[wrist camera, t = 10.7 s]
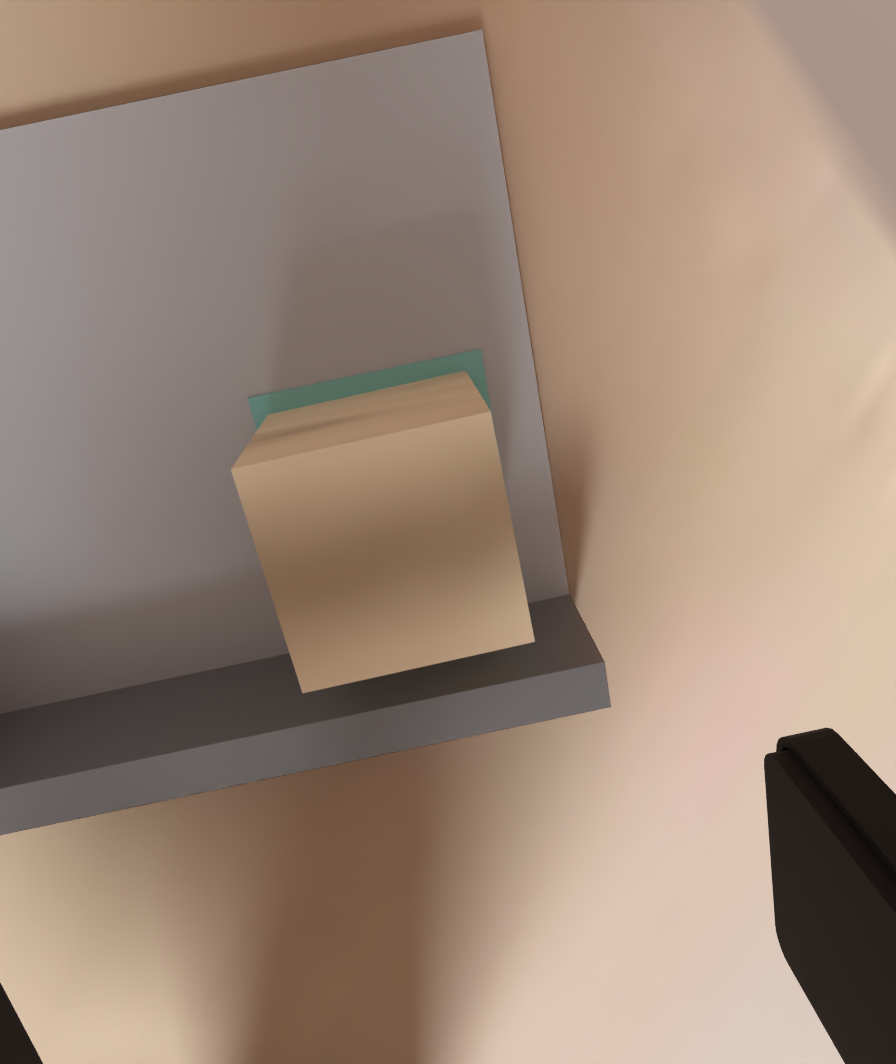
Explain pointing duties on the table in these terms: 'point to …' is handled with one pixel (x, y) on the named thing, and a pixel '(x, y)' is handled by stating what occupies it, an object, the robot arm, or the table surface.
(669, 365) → the table surface
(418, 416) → the birch block
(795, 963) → the robot arm
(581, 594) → the table surface
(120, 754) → the arena
